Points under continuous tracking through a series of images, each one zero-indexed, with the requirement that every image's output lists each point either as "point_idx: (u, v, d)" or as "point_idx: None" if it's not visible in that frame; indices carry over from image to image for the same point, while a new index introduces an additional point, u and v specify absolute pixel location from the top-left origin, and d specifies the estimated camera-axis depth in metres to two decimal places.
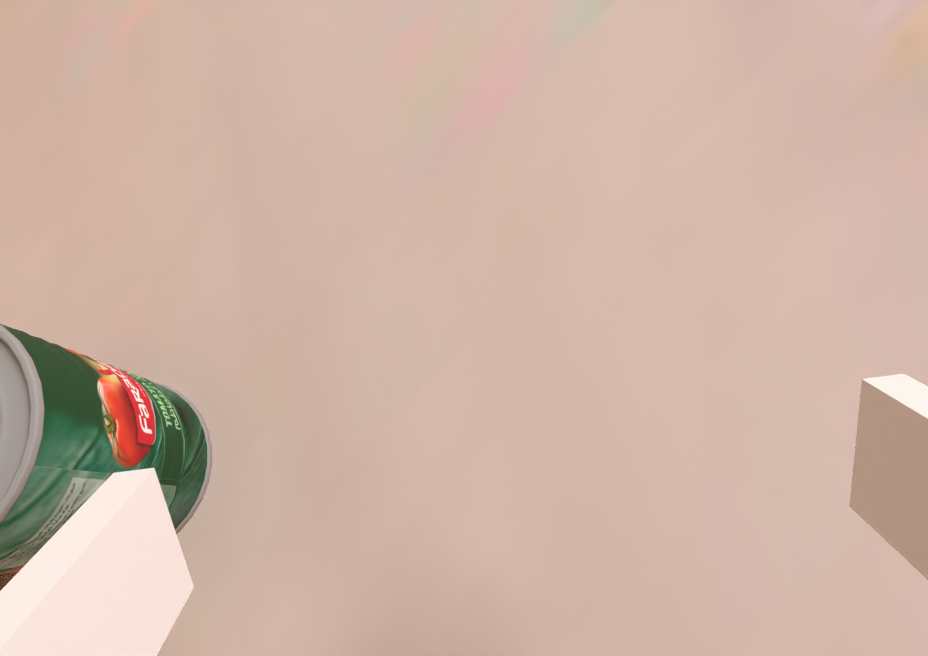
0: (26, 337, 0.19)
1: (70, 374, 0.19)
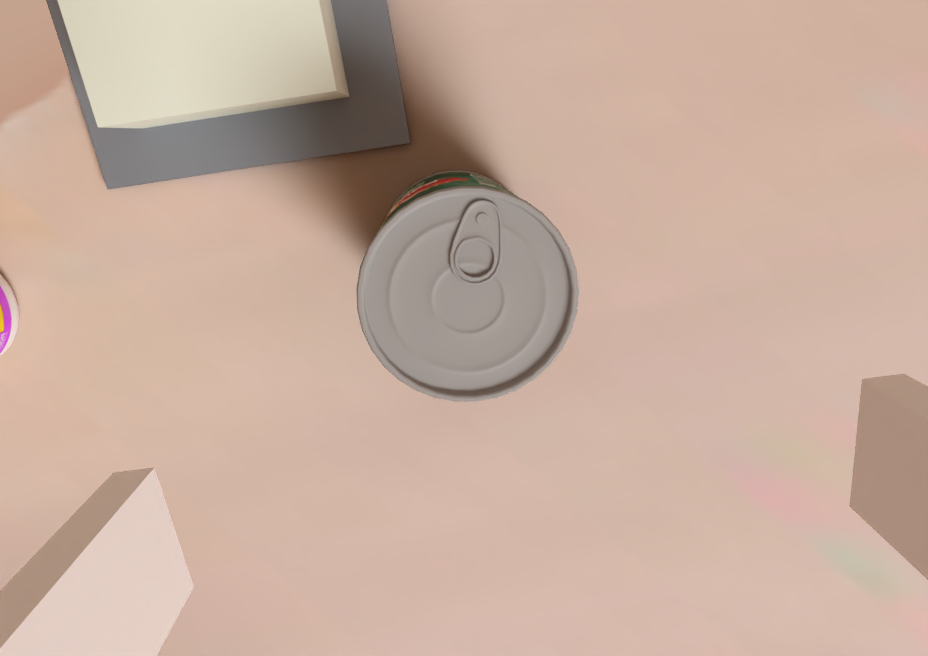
0: None
1: None
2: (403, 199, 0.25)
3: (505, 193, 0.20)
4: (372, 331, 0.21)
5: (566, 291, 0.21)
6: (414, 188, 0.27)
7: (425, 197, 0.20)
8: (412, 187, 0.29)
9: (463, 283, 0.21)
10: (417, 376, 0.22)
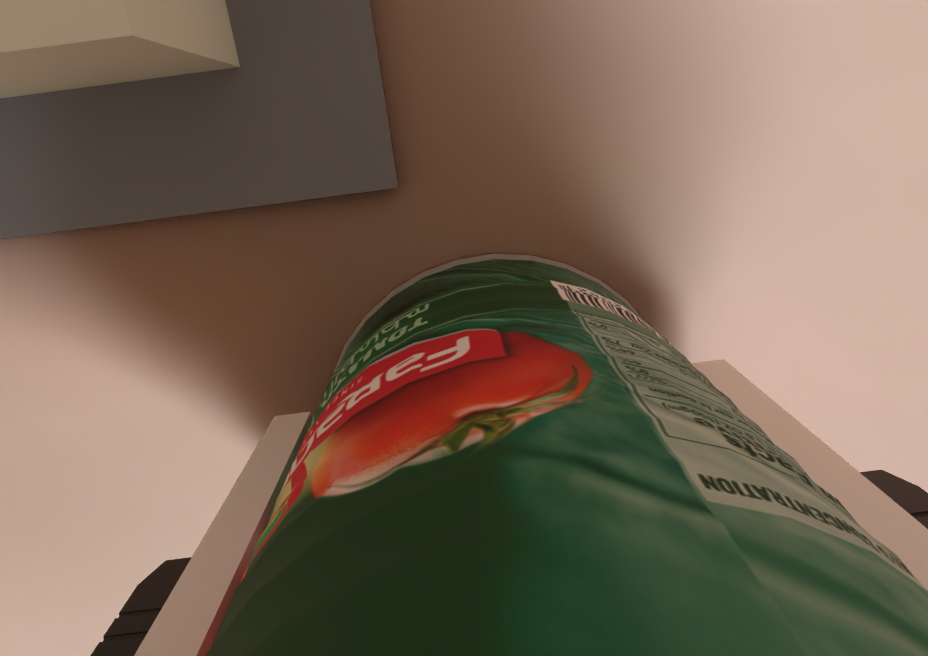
0: None
1: None
2: (352, 419, 0.07)
3: None
4: None
5: None
6: (399, 334, 0.09)
7: None
8: (398, 309, 0.11)
9: None
10: None
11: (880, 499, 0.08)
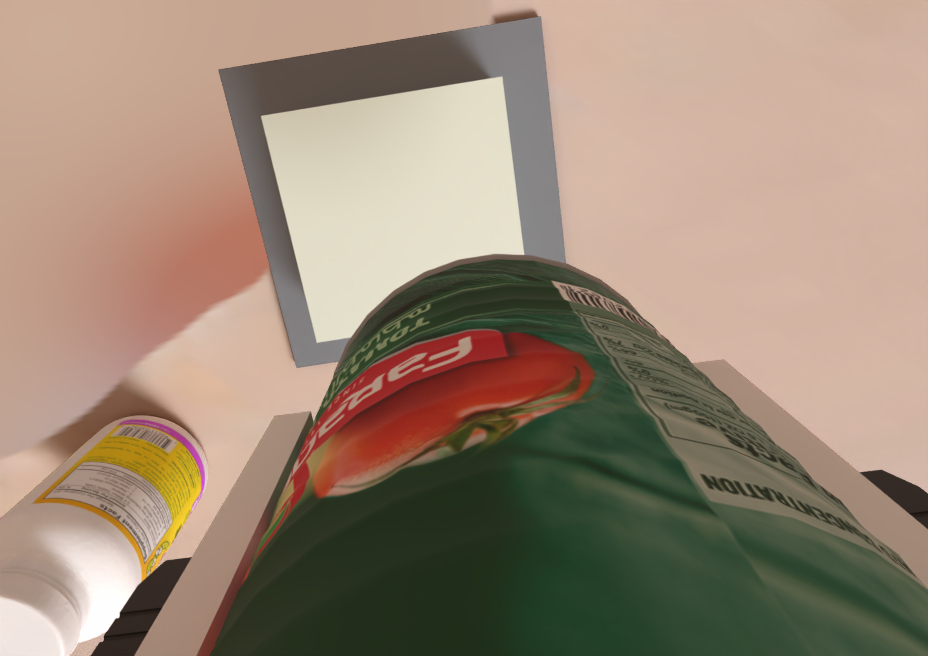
0: None
1: None
2: (354, 419, 0.07)
3: None
4: None
5: None
6: (401, 335, 0.09)
7: None
8: (399, 309, 0.11)
9: None
10: None
11: (880, 499, 0.08)
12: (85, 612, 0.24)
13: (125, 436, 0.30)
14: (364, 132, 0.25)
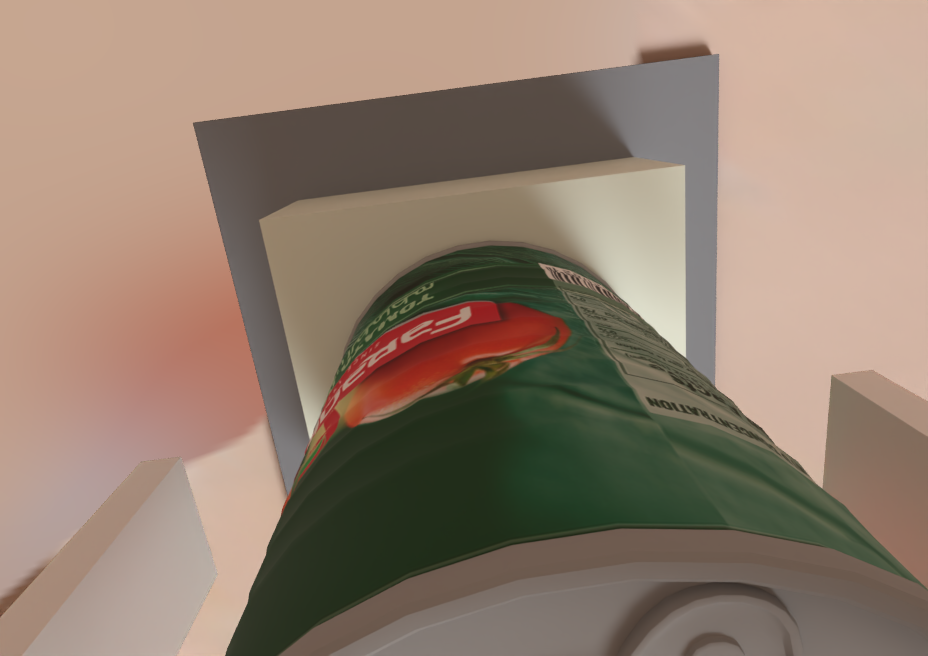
0: None
1: None
2: (375, 372, 0.09)
3: (857, 581, 0.04)
4: None
5: None
6: (409, 308, 0.11)
7: (452, 598, 0.04)
8: (405, 288, 0.12)
9: None
10: None
11: None
12: None
13: None
14: (437, 251, 0.14)
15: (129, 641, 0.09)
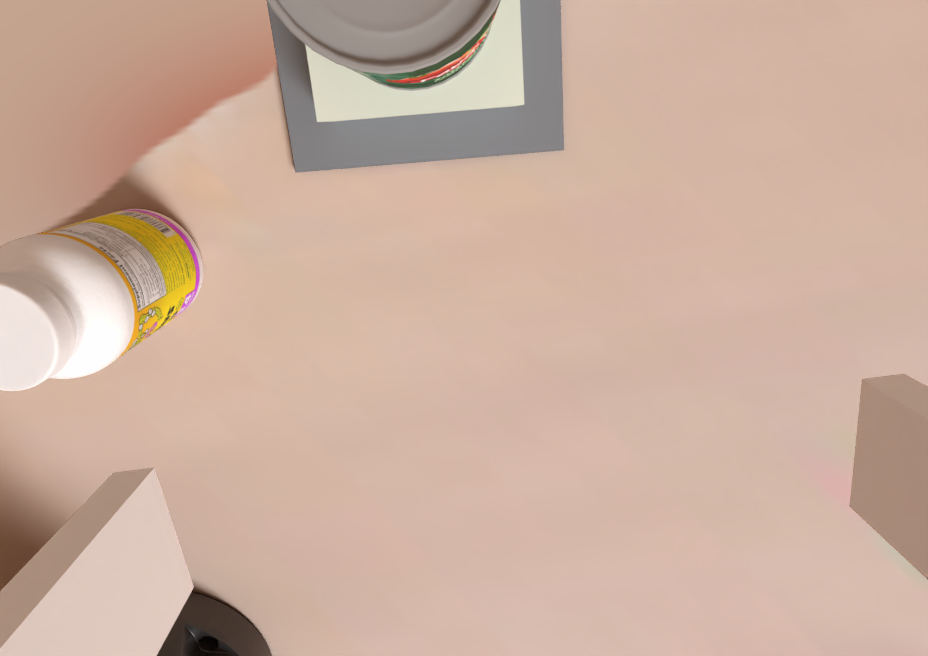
0: (490, 15, 0.19)
1: (457, 53, 0.20)
2: None
3: None
4: None
5: None
6: None
7: None
8: None
9: None
10: (315, 33, 0.18)
11: None
12: (79, 333, 0.25)
13: (126, 215, 0.32)
14: None
15: None
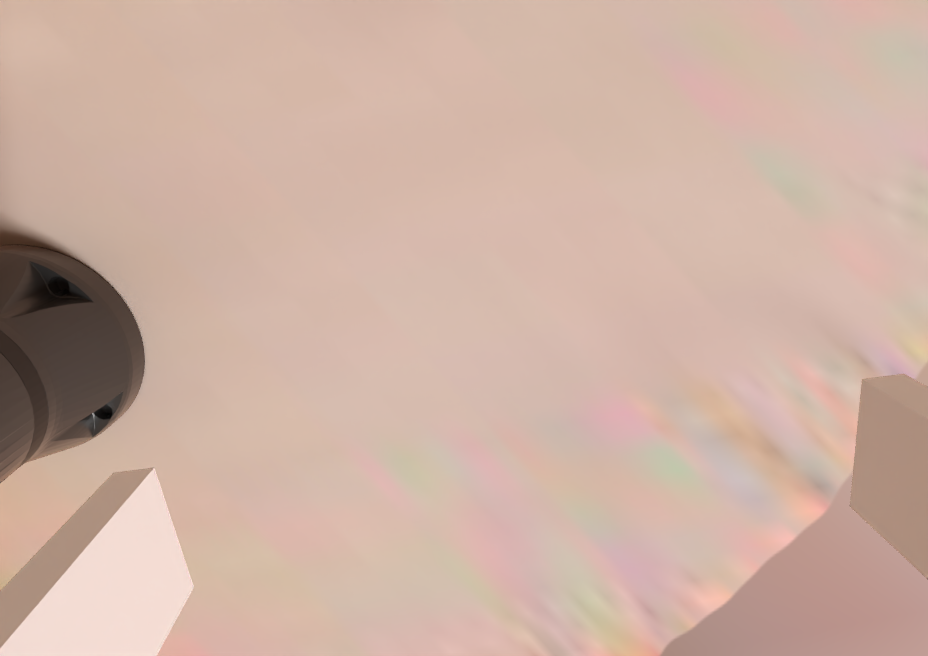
0: None
1: None
2: None
3: None
4: None
5: None
6: None
7: None
8: None
9: None
10: None
11: None
12: None
13: None
14: None
15: None
